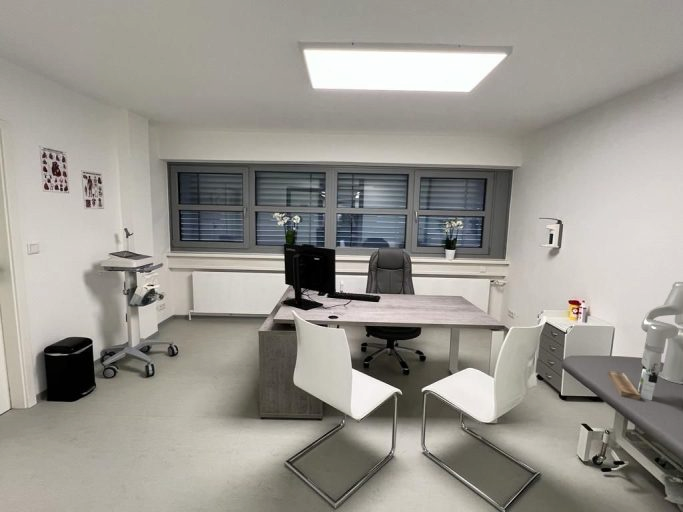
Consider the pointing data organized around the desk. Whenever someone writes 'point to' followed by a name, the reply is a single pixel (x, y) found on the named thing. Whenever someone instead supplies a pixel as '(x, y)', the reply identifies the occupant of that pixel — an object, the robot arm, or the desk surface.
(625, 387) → the walnut board
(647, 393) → the syrup box
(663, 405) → the desk surface
